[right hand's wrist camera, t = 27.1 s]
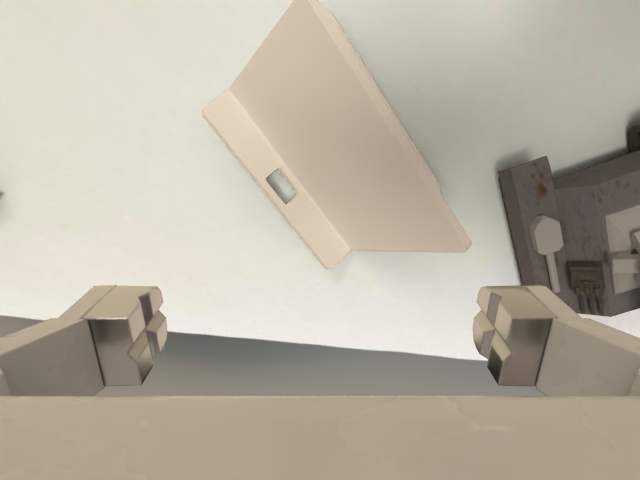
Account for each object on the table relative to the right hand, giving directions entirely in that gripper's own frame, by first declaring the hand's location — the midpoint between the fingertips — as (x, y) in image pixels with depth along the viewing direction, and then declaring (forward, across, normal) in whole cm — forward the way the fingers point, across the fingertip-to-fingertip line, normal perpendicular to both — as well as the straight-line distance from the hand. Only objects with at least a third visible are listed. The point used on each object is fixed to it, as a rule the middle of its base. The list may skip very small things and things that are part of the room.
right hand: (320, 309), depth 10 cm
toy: (+41, +35, -12) cm, 55 cm away
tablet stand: (+41, +1, -2) cm, 41 cm away
